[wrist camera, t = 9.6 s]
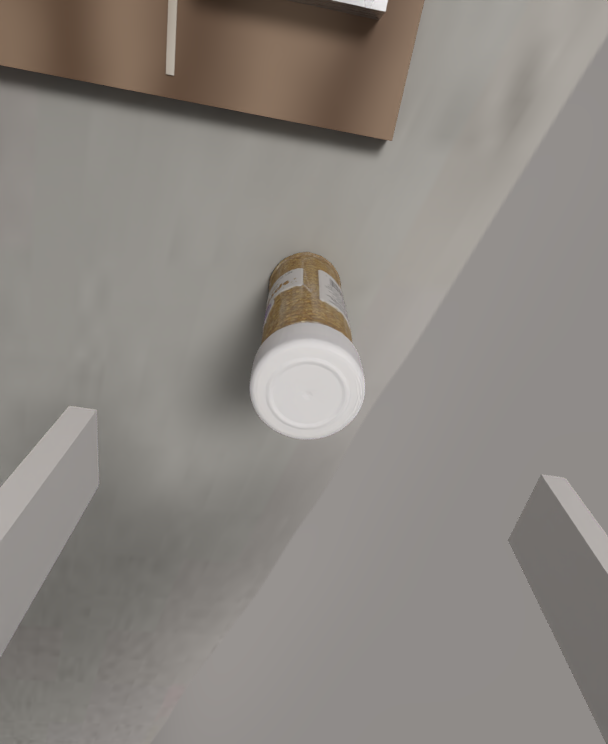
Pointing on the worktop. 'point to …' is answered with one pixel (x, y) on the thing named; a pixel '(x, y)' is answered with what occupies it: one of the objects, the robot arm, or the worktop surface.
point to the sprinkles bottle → (306, 353)
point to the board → (226, 54)
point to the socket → (351, 6)
